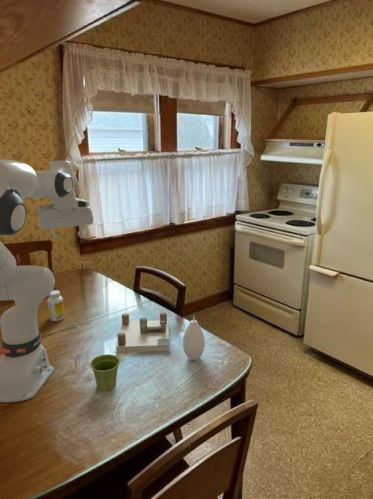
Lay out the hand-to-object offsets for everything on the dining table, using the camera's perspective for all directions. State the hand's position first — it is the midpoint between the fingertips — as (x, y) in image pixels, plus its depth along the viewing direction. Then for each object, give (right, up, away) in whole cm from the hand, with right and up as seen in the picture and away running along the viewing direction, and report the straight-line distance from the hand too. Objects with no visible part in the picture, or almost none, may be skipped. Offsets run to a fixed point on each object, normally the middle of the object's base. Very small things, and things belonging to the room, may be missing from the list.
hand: (68, 237), depth 145 cm
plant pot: (+20, -50, -24) cm, 59 cm away
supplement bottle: (-12, -36, +21) cm, 44 cm away
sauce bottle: (+49, -45, -10) cm, 68 cm away
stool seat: (+29, -41, +4) cm, 51 cm away
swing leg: (+33, -38, +4) cm, 51 cm away
